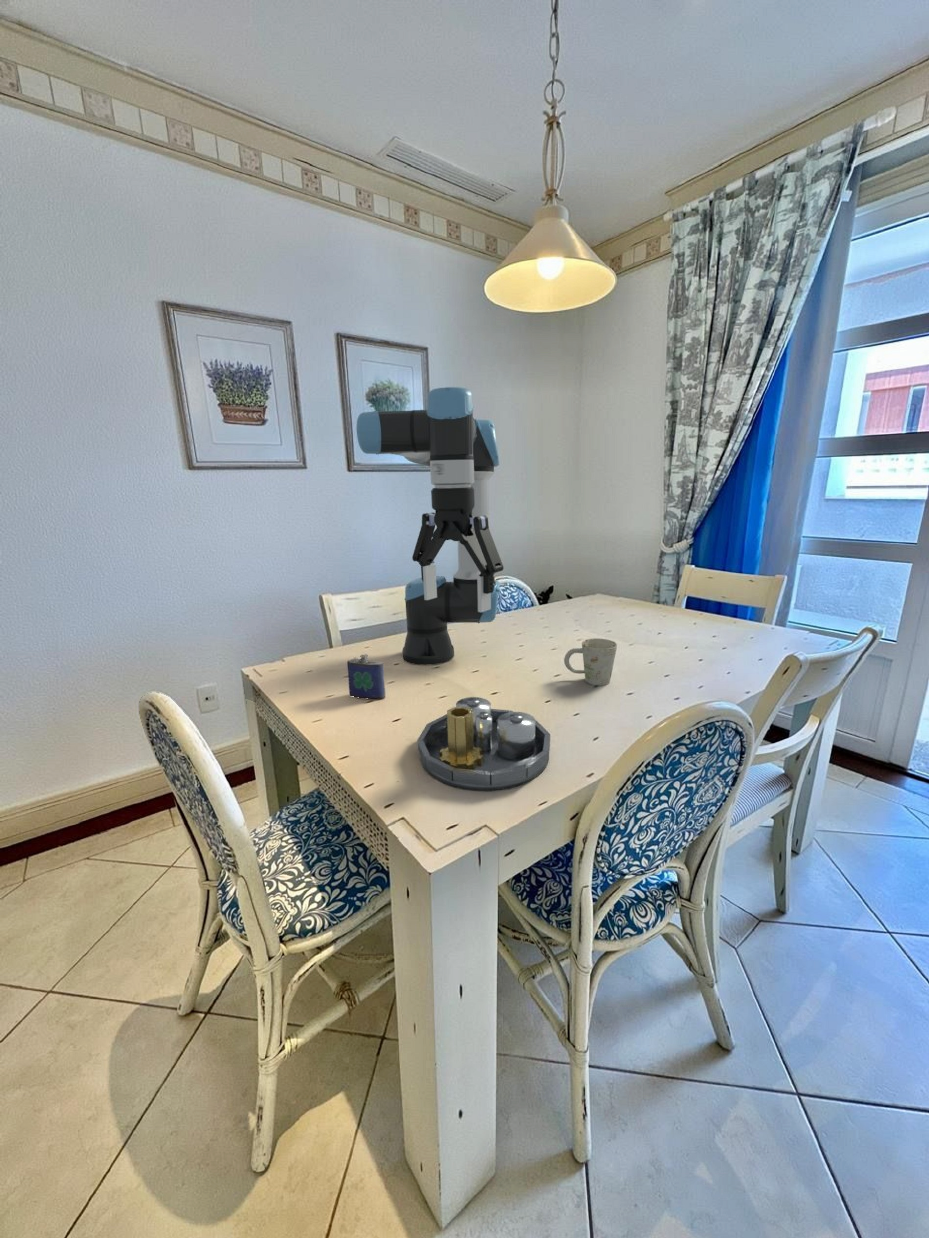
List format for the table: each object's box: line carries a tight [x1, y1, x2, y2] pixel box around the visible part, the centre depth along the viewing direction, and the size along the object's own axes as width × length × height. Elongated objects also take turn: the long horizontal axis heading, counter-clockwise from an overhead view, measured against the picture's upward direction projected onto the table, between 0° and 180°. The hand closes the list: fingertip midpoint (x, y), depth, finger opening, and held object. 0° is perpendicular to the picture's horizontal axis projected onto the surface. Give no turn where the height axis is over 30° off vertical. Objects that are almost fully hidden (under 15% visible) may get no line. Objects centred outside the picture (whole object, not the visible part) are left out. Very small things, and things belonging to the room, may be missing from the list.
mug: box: [563, 637, 618, 686], centre depth 123 cm, size 8×13×10 cm, turn 78°
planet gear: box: [439, 706, 483, 770], centre depth 86 cm, size 8×8×10 cm
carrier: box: [416, 696, 551, 792], centre depth 91 cm, size 24×24×8 cm
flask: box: [346, 653, 386, 700], centre depth 117 cm, size 9×3×11 cm, turn 74°
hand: (456, 604), depth 91 cm, fingers open, 13 cm apart
